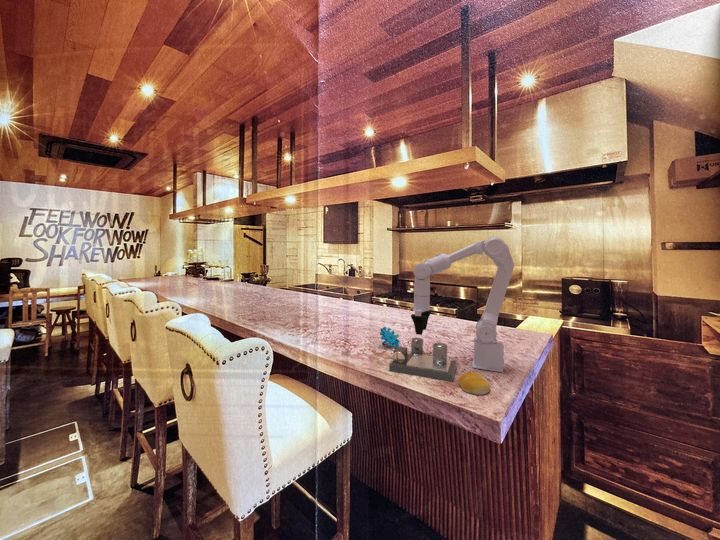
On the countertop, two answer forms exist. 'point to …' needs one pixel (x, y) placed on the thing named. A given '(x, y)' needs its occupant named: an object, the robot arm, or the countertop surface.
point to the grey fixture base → (421, 365)
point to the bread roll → (474, 383)
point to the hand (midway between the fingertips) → (421, 331)
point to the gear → (389, 337)
